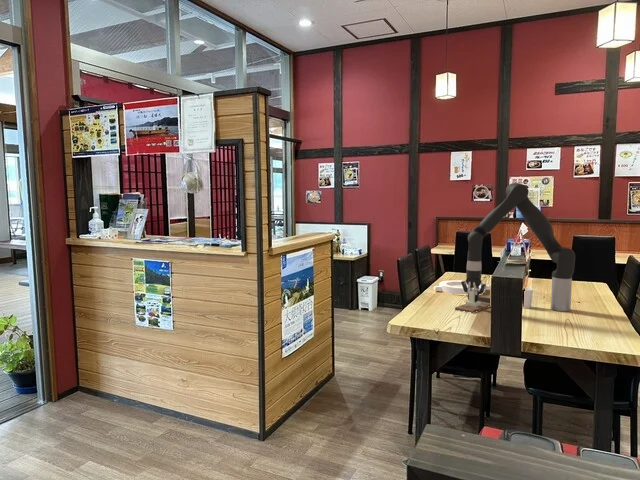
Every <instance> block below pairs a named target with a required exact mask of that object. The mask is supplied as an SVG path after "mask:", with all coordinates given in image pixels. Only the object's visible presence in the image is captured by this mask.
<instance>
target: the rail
mask: <svg viewBox="0 0 640 480" xmlns="http://www.w3.org/2000/svg"><path fill="white" fill-rule="evenodd" d="M490 298H491V297H488V296H481V295H479V300H478V302H481V304H480V306H478V307H472V306H467V305H466V303H463V304H460V305H458V306H455V307H454V310H455V311H458V310H460V311H459V312H463V311H465V312H464V313H468V312H471V313H470V314H475V313H477V312H476V311H478V312H480V311H482V310H481V309H483V308H486V307H488V306H490ZM488 308H489V307H488ZM486 309H487V308H486ZM479 310H480V311H479ZM483 310H484V309H483ZM474 312H475V313H474Z"/></svg>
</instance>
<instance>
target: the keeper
mask: <svg viewBox="0 0 640 480" xmlns="http://www.w3.org/2000/svg"><path fill="white" fill-rule="evenodd" d="M465 304H466V305H467V306H472V307H478V306H480V304H481V302H478V301H477V302H475V291H474V290H470V291H469V300H466V301H465Z"/></svg>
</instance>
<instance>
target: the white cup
mask: <svg viewBox="0 0 640 480" xmlns="http://www.w3.org/2000/svg"><path fill="white" fill-rule="evenodd" d="M524 288H525V291H524V308H523V309H531V308H532V301H533V293H534V289H533V288H531V287H524Z"/></svg>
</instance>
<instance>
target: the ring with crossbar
mask: <svg viewBox="0 0 640 480" xmlns="http://www.w3.org/2000/svg"><path fill="white" fill-rule="evenodd" d="M462 281H463V280H458V279H457V280H455V279H454V280H444V281H443V280H442V281H440V282H439V285H434V286H433V290H434V291H439V292H441V291H443V292H447V293H452V294H468V293H467V292H464V289H463V286H462V284H461V282H462ZM466 285H467V288H468V284H466ZM480 289H481V284H480V286H479V291H480ZM472 290H474V288H473V289H472ZM490 290H491V285H489V284H486V287H485V289H484V291H483V293H484V292H485V293H486V291H490ZM443 292H442V293H443ZM452 294H451V295H452Z"/></svg>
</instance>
